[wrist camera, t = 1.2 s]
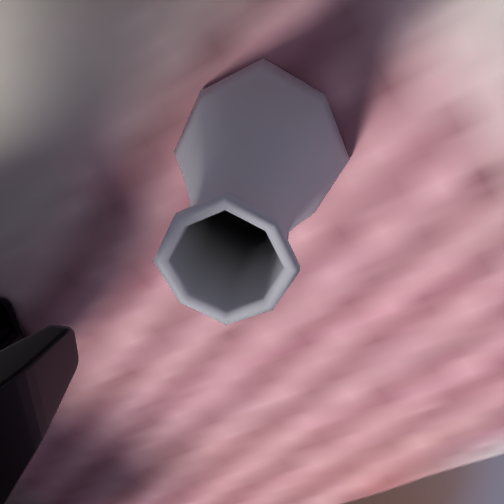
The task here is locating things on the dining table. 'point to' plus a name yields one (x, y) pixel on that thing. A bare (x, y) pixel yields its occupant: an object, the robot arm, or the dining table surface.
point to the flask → (248, 190)
